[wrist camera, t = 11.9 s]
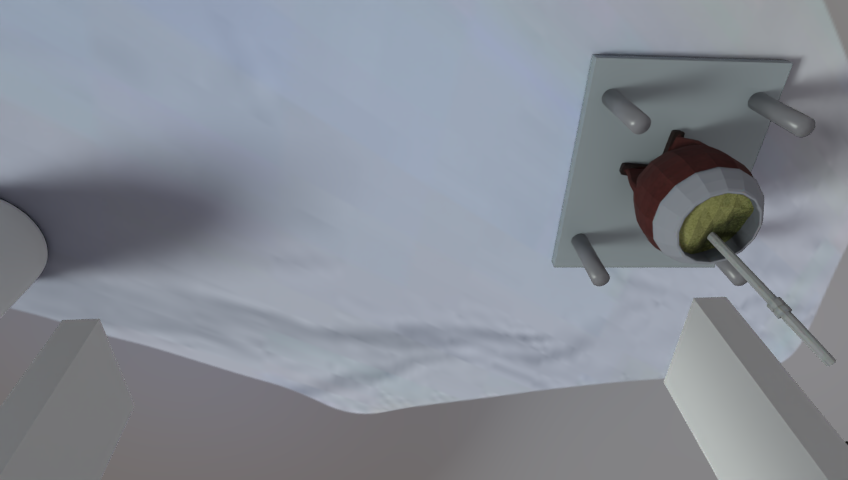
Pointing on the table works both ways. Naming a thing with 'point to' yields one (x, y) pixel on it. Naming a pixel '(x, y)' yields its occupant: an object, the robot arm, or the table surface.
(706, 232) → the mate gourd
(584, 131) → the tray
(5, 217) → the pill bottle
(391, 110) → the table surface
